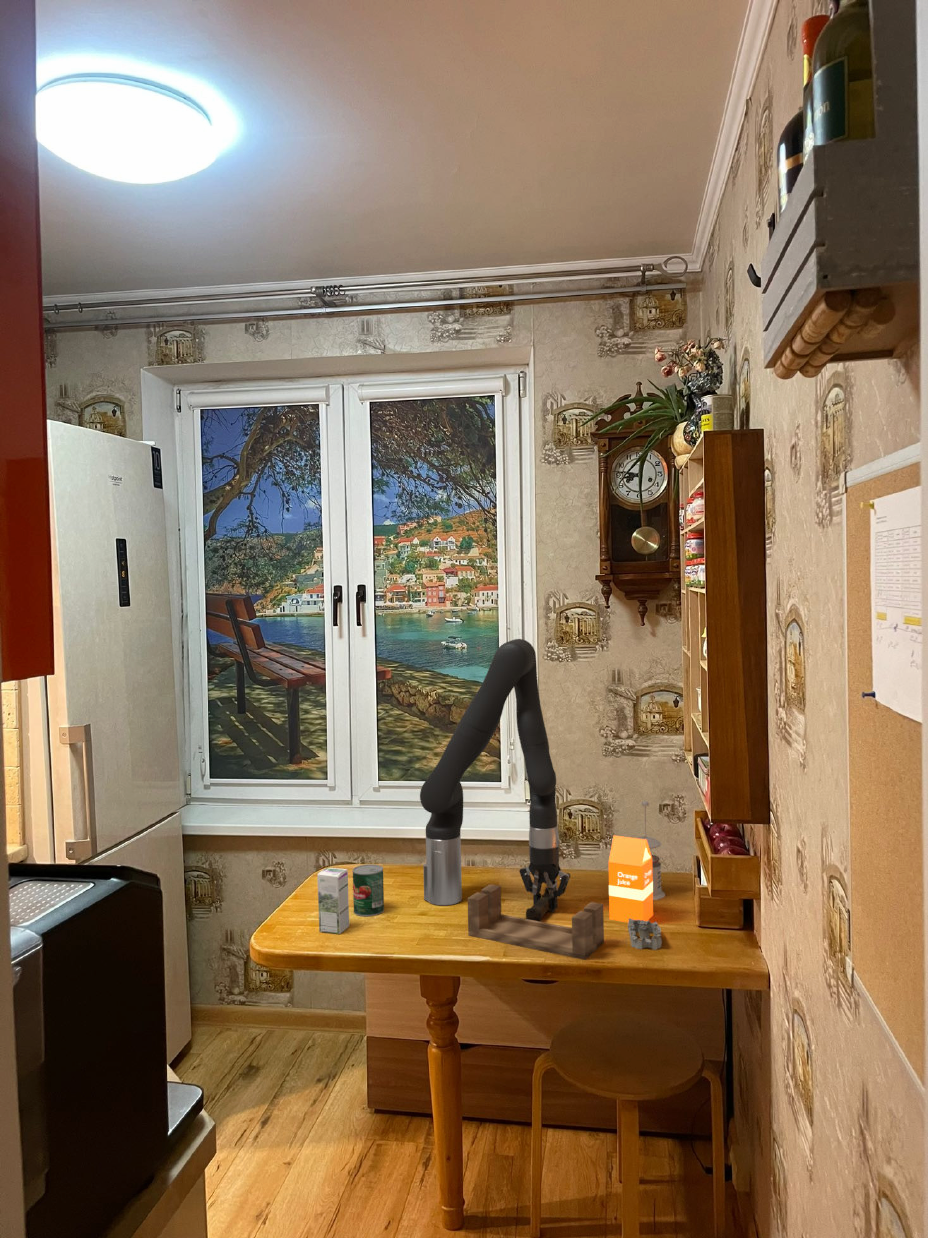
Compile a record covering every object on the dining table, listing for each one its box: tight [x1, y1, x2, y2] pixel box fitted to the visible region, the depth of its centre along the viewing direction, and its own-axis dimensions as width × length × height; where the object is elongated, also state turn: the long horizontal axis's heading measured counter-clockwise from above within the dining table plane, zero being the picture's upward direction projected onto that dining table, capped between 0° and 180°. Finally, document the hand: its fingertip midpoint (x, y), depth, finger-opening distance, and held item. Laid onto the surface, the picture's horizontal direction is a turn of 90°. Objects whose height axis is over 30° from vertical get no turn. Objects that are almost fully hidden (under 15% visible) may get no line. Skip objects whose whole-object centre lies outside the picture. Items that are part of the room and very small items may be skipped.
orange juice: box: [608, 835, 654, 923], centre depth 223 cm, size 8×9×20 cm
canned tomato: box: [352, 863, 385, 918], centre depth 232 cm, size 8×8×11 cm
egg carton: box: [627, 918, 663, 951], centre depth 209 cm, size 11×8×4 cm
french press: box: [637, 800, 666, 901], centre depth 239 cm, size 10×12×25 cm
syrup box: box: [316, 867, 350, 935], centre depth 220 cm, size 6×6×14 cm
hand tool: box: [525, 886, 550, 922], centre depth 229 cm, size 19×4×5 cm, turn 155°
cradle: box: [467, 884, 605, 961], centre depth 211 cm, size 30×11×9 cm, turn 59°
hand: (545, 909), depth 229 cm, fingers closed on hand tool, 3 cm apart
